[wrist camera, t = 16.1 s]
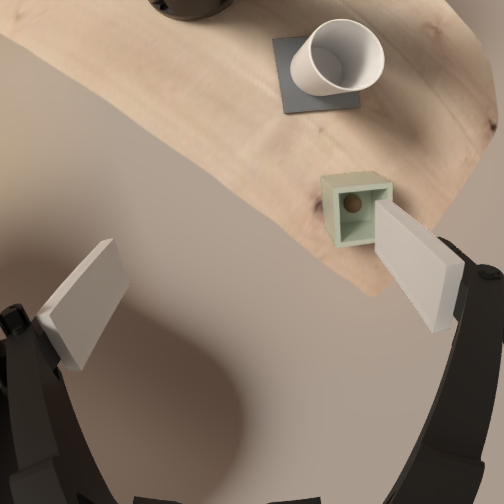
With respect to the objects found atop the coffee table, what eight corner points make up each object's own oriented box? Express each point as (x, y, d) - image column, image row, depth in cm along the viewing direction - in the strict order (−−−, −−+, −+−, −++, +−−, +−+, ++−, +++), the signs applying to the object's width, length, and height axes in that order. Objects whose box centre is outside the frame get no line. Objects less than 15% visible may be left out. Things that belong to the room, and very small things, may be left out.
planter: (320, 175, 48) (332, 188, 41) (372, 170, 47) (392, 182, 40) (324, 228, 52) (335, 248, 45) (373, 221, 51) (391, 240, 44)
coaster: (272, 39, 38) (272, 39, 38) (348, 36, 38) (349, 35, 37) (283, 113, 44) (284, 113, 43) (359, 107, 43) (360, 107, 42)
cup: (342, 48, 38) (382, 24, 24) (344, 97, 42) (386, 94, 27) (289, 44, 38) (306, 15, 24) (291, 95, 42) (310, 88, 27)
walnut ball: (340, 193, 48) (346, 198, 46) (358, 191, 48) (364, 196, 45) (341, 210, 50) (346, 216, 47) (358, 208, 49) (364, 214, 47)
